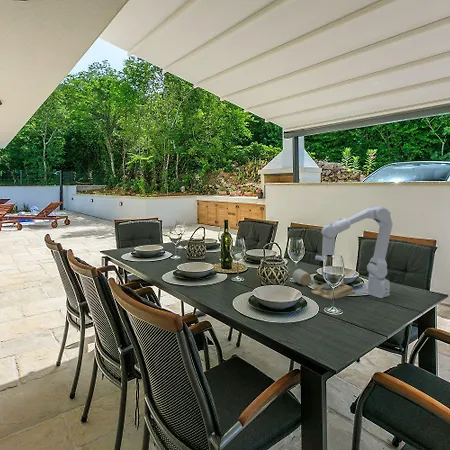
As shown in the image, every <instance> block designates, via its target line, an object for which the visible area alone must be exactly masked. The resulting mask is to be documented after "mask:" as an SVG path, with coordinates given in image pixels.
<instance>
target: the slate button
mask: <svg viewBox="0 0 450 450" xmlns="http://www.w3.org/2000/svg"><path fill="white" fill-rule="evenodd" d="M327 283H328V282H327ZM327 283H326V282H324V283H323V284H322V285H323V289H324V290H330V286H329V285H328V284H327Z"/></svg>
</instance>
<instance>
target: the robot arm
mask: <svg viewBox="0 0 450 450" xmlns="http://www.w3.org/2000/svg"><path fill="white" fill-rule="evenodd" d="M365 219H372V220H373V221H375V223H377V225H378V226H379V227H378V232H377V237H376V242H375V247H374V252H373V256H372V257H371V258H370V259H369V260H370V261H369V262H368V264H367V265H366V270H367V272H368V281H367V283H368V284H367V290H366V291H364V292H363V293H364V294H366V295H368V296H369V295H370V296H372V297H375V298H378V299H383V298H387V297H389V296H391V294H390V290H391V287H390V286H391V282H390V280H389V279H387V278H386V276H387V275H388V264H387V261H386V256H387V251H388V246H389V242H390V239H391V233H392V228H393V221H392V217H391V211H389V209H388V208H387V207H384V206H377V205H371V206H369V207H367V208H364V209H363V210H361V211H359V212H358V213H356V214H354V215H352V216H350V217H348V218H346V217H340V218H338V220H336V221H334V222H330V223H329V224H326V225H324V226H322V228H321V231H320V233H321V235H322V246H321V247H322V252H321V255H315V259H314V260H316V261H317V260H318V261H319V262H318V263H319V266H320V268H321V269H322V267H323V259H324V256H325V255H334V256H335V246H336V245H335V244H336V243H335V242H336V241H335V240H336V237H337V235H338V234H340V233H342V232H345V231H347V230H348V229H350V228H351V226H352V225H353V224H355V223H358V222H361V221H364V220H365Z"/></svg>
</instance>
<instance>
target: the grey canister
mask: <svg viewBox="0 0 450 450" xmlns="http://www.w3.org/2000/svg"><path fill="white" fill-rule="evenodd" d="M292 279H293V281H294V282H295V283H297V284H299V285H301V286H308V285H309V284H313V283H314V280H313V279H312V276H311V274H309V272H307V271H305V270H303V269H301V268H297V269H296V270H294V271H293V272H292Z"/></svg>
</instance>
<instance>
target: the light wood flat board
mask: <svg viewBox="0 0 450 450" xmlns="http://www.w3.org/2000/svg"><path fill="white" fill-rule="evenodd" d="M311 293H312V294H314V295H317V296H320V297H323V298H325V299H328V300H331V301H333V300H336V299H340V298H342V297H347V296H350V295H353V294H356V290H354V288H353V286H351V285H347V284H343V286H342V287H339V286H338V287H337V288H335V289H334V298H335V299H333V290H332V288H330V290H324V289H323V284H319V285H316V286H313V289H312V290H311ZM352 293H353V294H352ZM349 294H350V295H349ZM346 295H347V296H346ZM332 299H333V300H332Z"/></svg>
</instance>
